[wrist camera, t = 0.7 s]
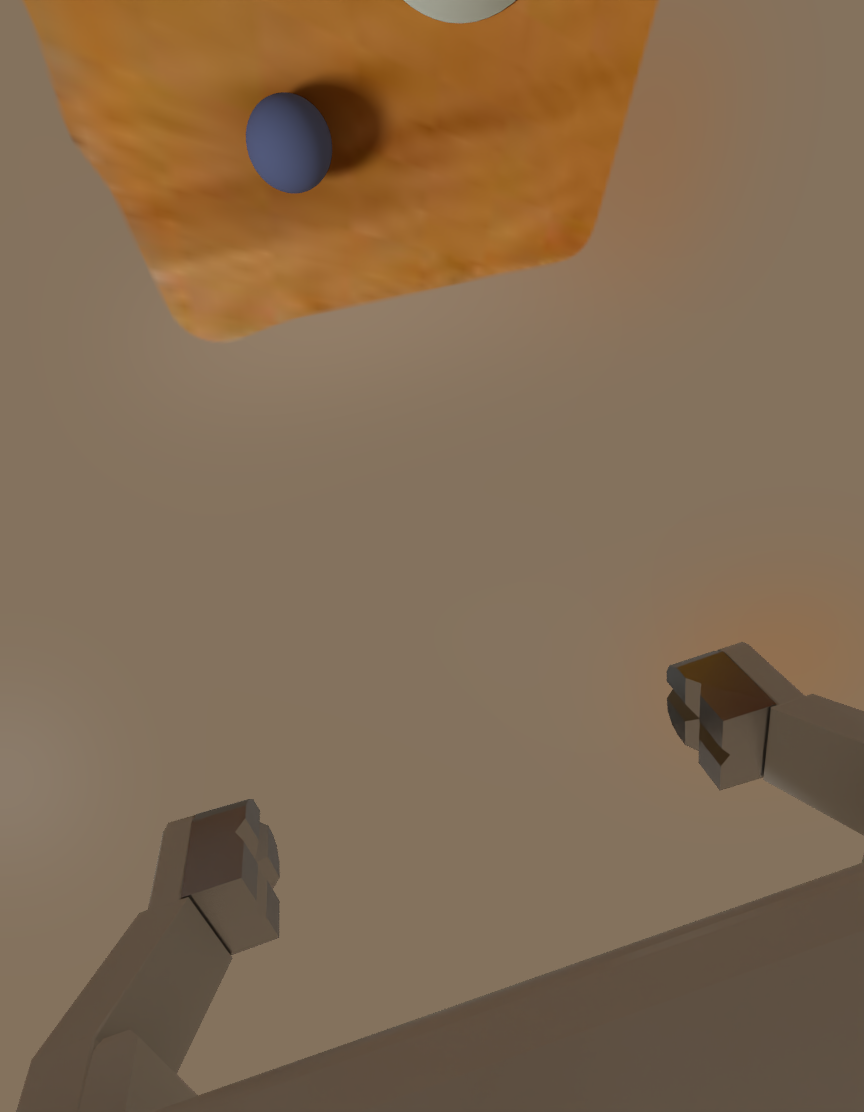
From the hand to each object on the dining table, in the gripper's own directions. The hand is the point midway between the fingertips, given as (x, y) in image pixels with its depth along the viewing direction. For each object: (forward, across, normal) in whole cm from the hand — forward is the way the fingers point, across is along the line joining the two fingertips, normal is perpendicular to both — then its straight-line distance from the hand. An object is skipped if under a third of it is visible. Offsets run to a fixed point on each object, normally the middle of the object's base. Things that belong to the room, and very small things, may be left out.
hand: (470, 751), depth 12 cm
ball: (+42, -1, -13) cm, 43 cm away
